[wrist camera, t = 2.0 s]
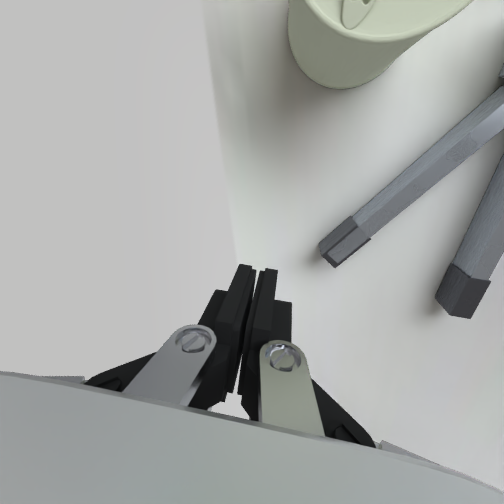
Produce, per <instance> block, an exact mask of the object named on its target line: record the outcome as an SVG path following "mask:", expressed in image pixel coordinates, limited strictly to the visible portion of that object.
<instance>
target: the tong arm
mask: <svg viewBox="0 0 504 504" xmlns="http://www.w3.org/2000/svg"><path fill="white" fill-rule="evenodd" d="M502 129H504V86H501V87H500V88H499V89H497V90H496V91H495V92H494V93H493V94H492V95H491V96H489V97H488V98H487V99H486V100H485V101H484V102H483V103H481V104H480V105H479V106H478V107H477V108H476V109H475V110H473V111H472V112H471V113H470V114H469V115H468V116H467V117H465V118H464V119H463V120H462V121H461V122H460V123H459V124H458V125H456V126H455V127H454V128H453V129H452V130H451V131H450V132H448V133H447V134H446V135H445V136H444V137H443V138H442V139H440V140H439V141H438V142H437V143H436V144H435V145H434V146H432V147H431V148H430V149H429V150H428V151H427V152H426V153H424V154H423V155H422V156H421V157H420V158H419V159H418V160H416V161H415V162H414V163H413V164H412V165H411V166H410V167H408V168H407V169H406V170H405V171H404V172H403V173H402V174H400V175H399V176H398V177H397V178H396V179H395V180H394V181H392V182H391V183H390V184H389V185H388V186H387V187H386V188H385V189H383V190H382V191H381V192H380V193H379V194H378V195H377V196H375V197H374V198H373V199H372V200H371V201H370V202H369V203H367V204H366V205H365V206H364V207H363V208H362V209H361V210H359V211H358V212H357V213H356V214H355V215H354V216H353V217H351V216H350V217H348V218H347V219H346V220H345V221H344V222H343V223H342V224H340V225H339V226H338V227H337V228H336V229H335V230H334V231H333V232H331V233H330V234H329V235H328V236H327V237H326V238H325V239H323V240H322V241H321V242H320V243H319V247H320V252H321V256H322V257H323V258H325V259H326V260H327V261H328V262H329V263H330V264H331V265H332V266H333V267H334V268H336V267H337V266H338V265H340V264H341V263H342V262H343V261H345V260H346V259H347V258H348V257H350V256H351V255H352V254H353V253H355V252H356V251H357V250H358V249H360V248H361V247H362V246H363V245H364V244H366V243H367V242H368V241H369V240H371V238H370V237H371V236H372V235H373V234H375V233H376V232H377V231H378V230H380V229H381V228H382V227H383V226H384V225H386V224H387V223H388V222H389V221H391V220H392V219H393V218H394V217H395V216H397V215H398V214H399V213H400V212H402V211H403V210H404V209H405V208H407V207H408V206H409V205H410V204H411V203H413V202H414V201H415V200H416V199H418V198H419V197H420V196H421V195H423V194H424V193H425V192H426V191H427V190H429V189H430V188H431V187H432V186H434V185H435V184H436V183H437V182H439V181H440V180H441V179H442V178H443V177H445V176H446V175H447V174H448V173H450V172H451V171H452V170H453V169H455V168H456V167H457V166H458V165H459V164H461V163H462V162H463V161H464V160H466V159H467V158H468V157H469V156H470V155H472V154H473V153H474V152H475V151H477V150H478V149H479V148H480V147H482V146H483V145H484V144H485V143H486V142H488V141H489V140H490V139H491V138H493V137H494V136H495V135H496V134H498V133H499V132H500V131H501V130H502Z"/></svg>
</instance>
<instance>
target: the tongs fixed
mask: <svg viewBox="0 0 504 504" xmlns="http://www.w3.org/2000/svg"><path fill="white" fill-rule="evenodd" d="M498 77H504V64H503V66H502V69H501V71H500V74H499V76H498ZM503 252H504V154H503V156H502V158H501V160H500V163H499V165H498V167H497V169H496V171H495V173H494V175H493V178H492V180H491V182H490V184H489V186H488V188H487V190H486V192H485V195H484V197H483V199H482V201H481V203H480V205H479V207H478V210H477V212H476V214H475V216H474V218H473V220H472V222H471V225H470V227H469V229H468V231H467V233H466V235H465V237H464V239H463V242H462V244H461V246H460V248H459V250H458V252H457V254H456V257H455V259H454V261H453V263H451V264H450V266H449V268H448V270H447V272H446V275H445V277H444V279H443V281H442V283H441V285H440V288H439V290H438V292H437V294H436V296H435V299H436V300H437V301H438V302H439V303H440V304H441V306H442V307H443V308H444V309H445V310H446V311H447V313H448V314H449V315H451V316H456V317H462V318H468V319H471V317H472V315H473V313H474V312H475V310H476V308H477V306H478V304H479V303H480V301H481V299H482V297H483V295H484V294H485V292H486V290H487V288H488V286H489V284H490V283H491V281H490V280H488V279H489V278H490V276H491V274H492V272H493V270H494V268H495V267H496V265H497V263H498V261H499V259H500V257H501V256H502V254H503Z"/></svg>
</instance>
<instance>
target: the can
mask: <svg viewBox="0 0 504 504" xmlns="http://www.w3.org/2000/svg"><path fill="white" fill-rule="evenodd" d="M472 1H473V0H289V13H288V37H289V42H290V46H291V50H292V53H293V55H294V58H295V60H296V62H297V64H298V65H299V67H300V68H301V69H302V71H303V72H304V73H305V74H306V75H307V76H308V77H309V78H310V79H312V80H313V81H315V82H316V83H318V84H320V85H322V86H325V87H328V88H334V89H347V88H353V87H357V86H360V85H363V84H365V83H367V82H369V81H371V80H373V79H374V78H376V77H377V76H379V75H380V74H381V73H382V72H384V71H385V70H386V69H387V68H388V67H389V66H390V65H391V64H392V63H393V62H394V60H395V59H396V58H397V57H399V56H400V55H401V54H402V53H404V52H405V51H406V50H407V49H409V48H410V47H411V46H412V45H414V44H415V43H416V42H418V41H419V40H420V39H421V38H423V37H424V36H425V35H427V34H428V33H429V32H431V31H432V30H433V29H435V28H437V27H439V26H440V25H442V24H444V23H445V22H447V21H448V20H450V19H451V18H453V17H454V16H455V15H457V14H458V13H459V12H460V11H462V10H463V9H464V8H465V7H466V6H468V5H469V4H470V3H471V2H472Z"/></svg>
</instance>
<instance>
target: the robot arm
mask: <svg viewBox="0 0 504 504" xmlns="http://www.w3.org/2000/svg"><path fill="white" fill-rule="evenodd" d="M277 274H278V270H274V269H268V268H265V271H260V273H259V277H258V281H257V285H256V289H255V293H254V297H253V292H254V285H255V277H256V270H254V269H252V266H250V265H244V264H239V266H238V269H237V271H236V273H235V276H234V278H233V280H232V283H231V285H230V287H229V289H228V291H223V290H215V292H214V293H213V295H212V297H211V299H210V301H209V303H208V305H207V307H206V309H205V311H204V313H203V315H202V317H201V319H200V321H199V323H198V324H197V325H187V326H184V327H182V328H180V329H178V330H177V331H175V332H174V333H173V334H172V335H171V337H170V338H169V339H168V340H167V341H166V342H165V343H164V345H163V346H162V347H161V348H160V349H159V350H158V351H157V352H155V353H152V354H150V355H147V356H145V357H142V358H139V359H137V360H134V361H131V362H129V363H126V364H123V365H121V366H118V367H116V368H113V369H110V370H108V371H105V372H103V373H100V374H98V375H96V376H94V377H92V378H91V379H89V380H85V377H84V376H52V377H51V376H45V377H44V376H35V375H28V374H21V373H15V372H3V371H0V504H504V492H502V491H500V490H499V489H497V488H495V487H493V486H490V485H488V484H486V483H484V482H481V481H479V480H477V479H475V478H473V477H470V476H468V475H466V474H463V473H460V472H457V471H455V470H452V469H449V468H446V467H443V466H441V465H439V464H436V463H434V462H432V461H430V460H427V459H425V458H423V457H420V456H418V455H416V454H413V453H411V452H409V451H406V450H404V449H402V448H399V447H397V446H395V445H392V444H390V443H388V442H386V441H383V440H382V441H381V443H380V444H379V443H377V442H375V441H373V440H372V438H371V436H370V435H369V434H368V433H367V432H366V431H365V429H364V428H363V427H362V426H361V425H360V424H358V423H357V422H356V421H355V420H354V419H353V418H352V417H351V416H350V415H349V414H348V413H347V412H346V411H345V410H344V409H343V408H342V407H341V406H340V405H339V404H338V403H337V402H336V401H334V400H333V399H332V398H331V397H330V396H329V395H328V394H327V393H326V392H325V391H324V390H323V389H322V388H321V387H320V386H319V385H318V384H317V383H316V382H315V381H314V380H313V379H312V378H311V377H310V373H309V369H308V365H307V361H306V358H305V355H304V353H303V352H302V351H301V350H300V348H298V347H297V346H296V345H294V344H292V343H291V327H292V303H291V302H285V301H280V300H274V299H275V290H276V282H277ZM241 357H242V361H241V369H240V376H239V385H238V392H237V393H238V395H242V400H241V405H242V406H243V408H244V409H245V411H246V412H247V414H248V415H249V420H247V419H242V418H238V417H233V416H229V415H224V414H220V413H215V412H211V409H212V406H213V405H215V404H217V403H219V402H220V401H221V402H225V399H226V395H227V392H229V393H233V390H234V386H235V381H236V378H237V373H238V369H239V365H240V360H241Z"/></svg>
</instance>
